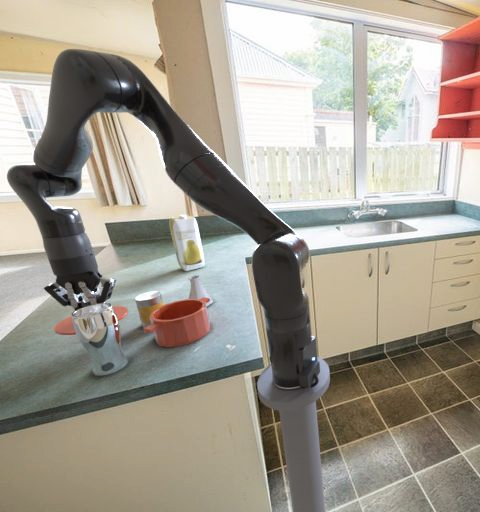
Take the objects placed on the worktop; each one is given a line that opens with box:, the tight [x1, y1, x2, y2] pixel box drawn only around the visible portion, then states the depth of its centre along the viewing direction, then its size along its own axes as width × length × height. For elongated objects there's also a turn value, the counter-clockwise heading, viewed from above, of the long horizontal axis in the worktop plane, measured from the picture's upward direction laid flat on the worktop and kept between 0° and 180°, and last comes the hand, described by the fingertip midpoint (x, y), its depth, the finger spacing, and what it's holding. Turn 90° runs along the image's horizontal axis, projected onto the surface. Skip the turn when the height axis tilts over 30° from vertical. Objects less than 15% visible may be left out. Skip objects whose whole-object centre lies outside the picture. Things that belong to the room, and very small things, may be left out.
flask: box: [188, 274, 214, 307], centre depth 97 cm, size 7×7×10 cm
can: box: [134, 290, 165, 329], centre depth 86 cm, size 6×6×9 cm
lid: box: [53, 298, 129, 336], centre depth 74 cm, size 14×14×6 cm
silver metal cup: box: [70, 302, 129, 377], centre depth 66 cm, size 7×7×15 cm
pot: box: [142, 297, 211, 348], centre depth 81 cm, size 13×18×8 cm
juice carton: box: [168, 214, 205, 272], centre depth 129 cm, size 9×8×24 cm
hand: (92, 317), depth 75 cm, fingers closed on lid, 2 cm apart
